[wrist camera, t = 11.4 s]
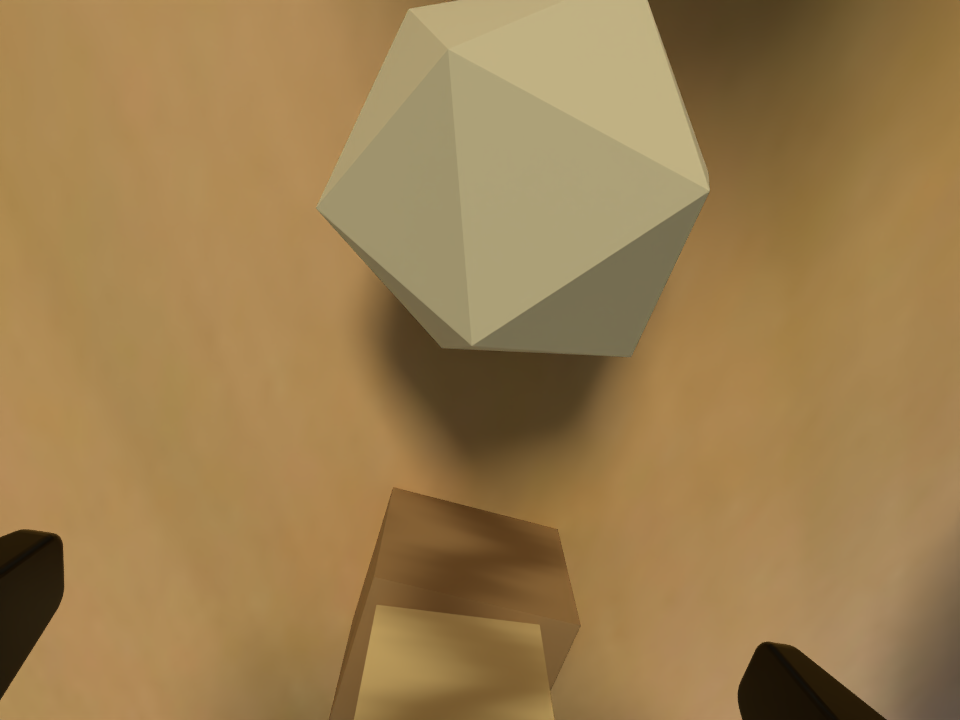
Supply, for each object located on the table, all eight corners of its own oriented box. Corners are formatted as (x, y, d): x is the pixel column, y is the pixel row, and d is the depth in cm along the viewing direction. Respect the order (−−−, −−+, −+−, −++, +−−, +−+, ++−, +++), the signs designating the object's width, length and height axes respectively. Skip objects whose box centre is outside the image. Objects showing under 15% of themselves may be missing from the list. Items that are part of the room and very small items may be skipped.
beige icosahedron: (459, 362, 21) (721, 461, 13) (215, 244, 15) (440, 303, 8) (553, 148, 22) (855, 129, 14) (353, -46, 16) (690, -260, 8)
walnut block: (557, 527, 23) (580, 625, 18) (504, 652, 25) (513, 770, 20) (393, 485, 22) (373, 576, 17) (353, 618, 24) (325, 732, 19)
